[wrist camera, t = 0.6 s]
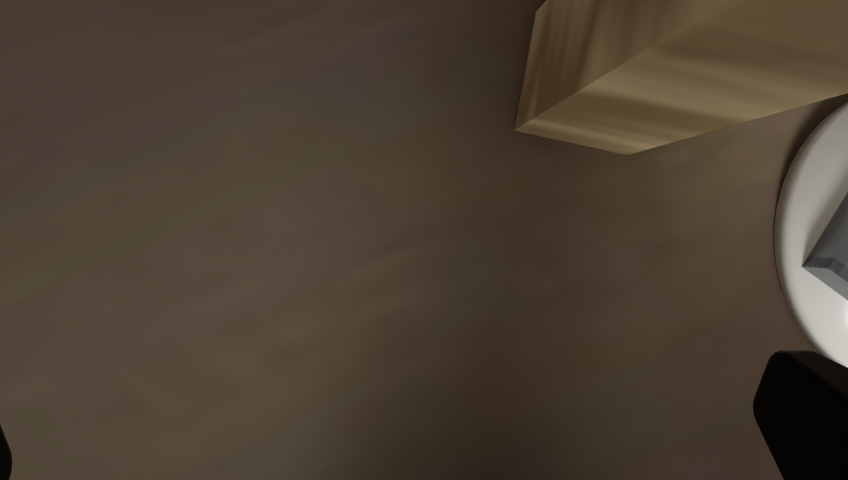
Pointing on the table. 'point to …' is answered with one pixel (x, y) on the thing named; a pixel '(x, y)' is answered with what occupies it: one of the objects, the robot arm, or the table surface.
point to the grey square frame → (832, 252)
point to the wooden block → (676, 67)
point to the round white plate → (814, 233)
